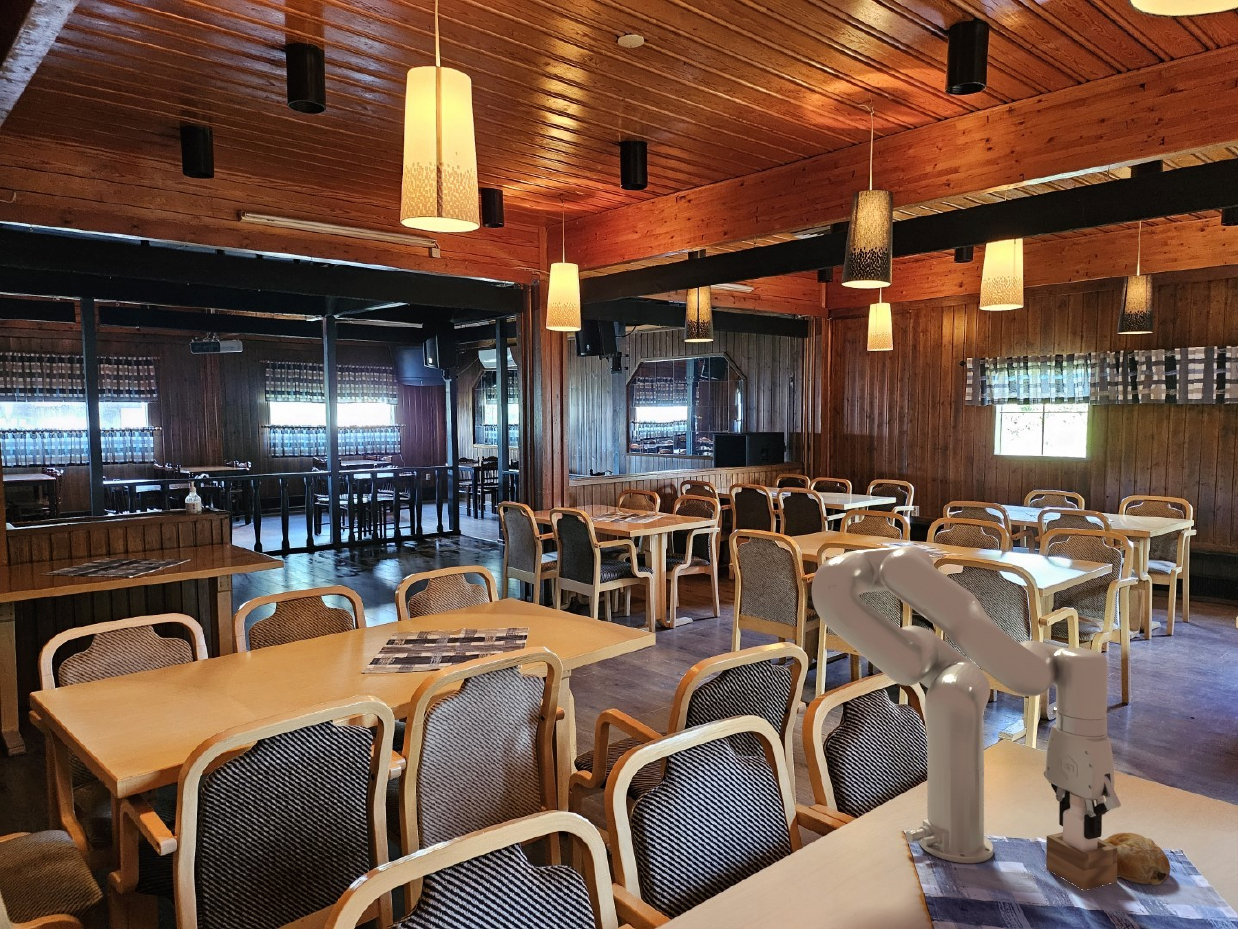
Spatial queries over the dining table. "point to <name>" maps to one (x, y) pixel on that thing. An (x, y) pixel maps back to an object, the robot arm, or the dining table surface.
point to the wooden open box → (1082, 862)
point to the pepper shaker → (1076, 825)
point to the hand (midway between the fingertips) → (1080, 830)
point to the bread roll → (1139, 859)
